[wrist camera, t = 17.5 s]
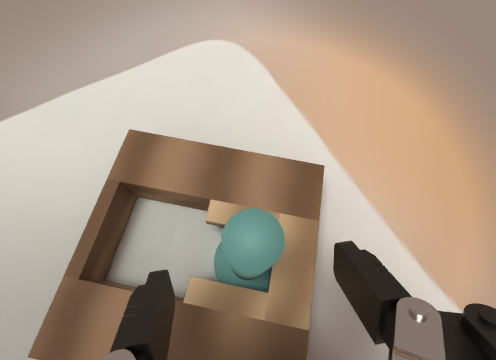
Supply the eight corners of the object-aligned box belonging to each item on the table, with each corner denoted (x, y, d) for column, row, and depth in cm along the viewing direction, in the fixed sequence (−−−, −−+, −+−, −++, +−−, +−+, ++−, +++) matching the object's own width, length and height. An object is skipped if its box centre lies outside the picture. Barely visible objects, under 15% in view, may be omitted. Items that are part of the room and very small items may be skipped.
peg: (209, 290, 20) (176, 290, 10) (224, 226, 22) (209, 172, 12) (273, 304, 20) (306, 319, 10) (282, 238, 22) (319, 194, 12)
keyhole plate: (65, 345, 18) (27, 357, 15) (144, 150, 25) (129, 129, 21) (289, 398, 18) (300, 422, 14) (312, 182, 24) (324, 165, 20)
